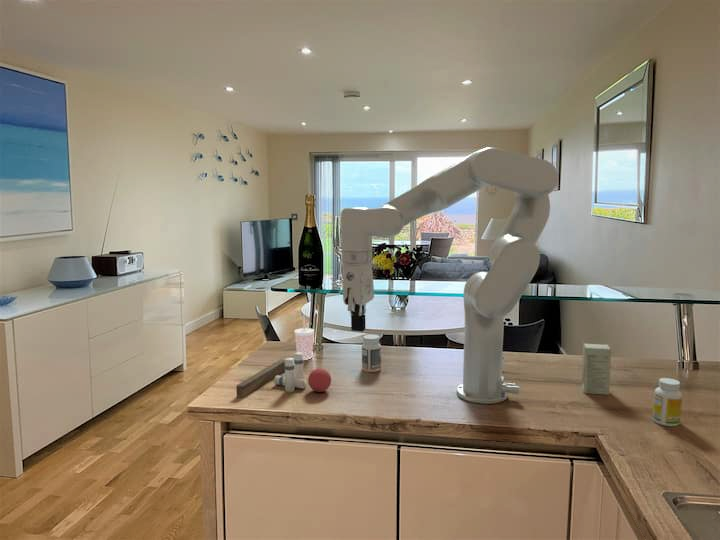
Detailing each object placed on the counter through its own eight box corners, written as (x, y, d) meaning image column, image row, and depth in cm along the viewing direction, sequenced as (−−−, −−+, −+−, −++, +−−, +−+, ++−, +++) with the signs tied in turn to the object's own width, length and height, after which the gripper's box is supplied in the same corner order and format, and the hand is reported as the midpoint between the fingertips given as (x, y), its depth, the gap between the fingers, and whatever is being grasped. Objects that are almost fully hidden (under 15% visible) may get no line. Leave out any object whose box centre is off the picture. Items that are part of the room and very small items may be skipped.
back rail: (286, 370, 151) (286, 360, 151) (243, 397, 131) (242, 386, 130) (280, 369, 152) (280, 359, 151) (236, 396, 132) (236, 385, 131)
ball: (310, 374, 139) (325, 391, 138) (299, 382, 133) (315, 400, 132) (323, 360, 136) (339, 377, 136) (313, 368, 131) (329, 386, 130)
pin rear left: (296, 389, 136) (295, 358, 135) (292, 392, 134) (291, 361, 133) (288, 388, 137) (287, 357, 136) (283, 391, 135) (282, 360, 133)
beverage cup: (292, 360, 159) (291, 316, 157) (299, 354, 165) (298, 312, 163) (310, 362, 158) (310, 317, 156) (317, 356, 164) (316, 313, 162)
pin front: (306, 378, 138) (278, 374, 141) (302, 380, 135) (274, 376, 138) (306, 387, 138) (278, 383, 141) (302, 390, 136) (273, 385, 139)
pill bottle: (381, 366, 154) (381, 334, 152) (380, 373, 148) (380, 339, 147) (362, 365, 155) (362, 333, 153) (360, 372, 149) (360, 339, 147)
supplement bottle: (649, 422, 116) (652, 381, 115) (655, 414, 120) (658, 375, 119) (676, 429, 113) (680, 387, 111) (682, 421, 116) (686, 380, 115)
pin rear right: (305, 382, 141) (304, 352, 139) (301, 386, 138) (300, 355, 137) (297, 381, 142) (296, 351, 140) (292, 384, 139) (292, 354, 138)
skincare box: (606, 389, 135) (609, 344, 134) (609, 395, 131) (612, 349, 129) (580, 386, 137) (582, 342, 135) (582, 393, 133) (585, 347, 131)
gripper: (360, 262, 119) (361, 339, 121) (381, 254, 132) (382, 324, 135) (330, 261, 121) (332, 336, 124) (353, 253, 135) (355, 322, 138)
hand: (358, 330), depth 130 cm, fingers closed
